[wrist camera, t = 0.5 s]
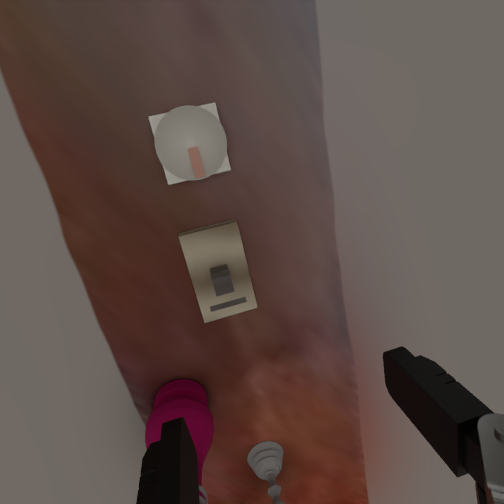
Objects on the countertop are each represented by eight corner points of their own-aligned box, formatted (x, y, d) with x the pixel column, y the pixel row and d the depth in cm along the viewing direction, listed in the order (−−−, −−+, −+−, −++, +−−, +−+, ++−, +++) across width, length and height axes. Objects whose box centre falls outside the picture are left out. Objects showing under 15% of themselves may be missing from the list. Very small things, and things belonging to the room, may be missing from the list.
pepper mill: (222, 391, 40) (253, 602, 21) (187, 433, 41) (187, 673, 22) (173, 364, 38) (158, 575, 19) (137, 409, 38) (88, 655, 19)
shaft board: (178, 233, 33) (177, 244, 29) (235, 218, 34) (241, 228, 30) (204, 316, 36) (206, 338, 32) (254, 301, 37) (263, 321, 33)
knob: (151, 120, 30) (143, 112, 24) (212, 107, 31) (217, 97, 25) (170, 182, 32) (166, 188, 26) (227, 169, 32) (235, 172, 27)
